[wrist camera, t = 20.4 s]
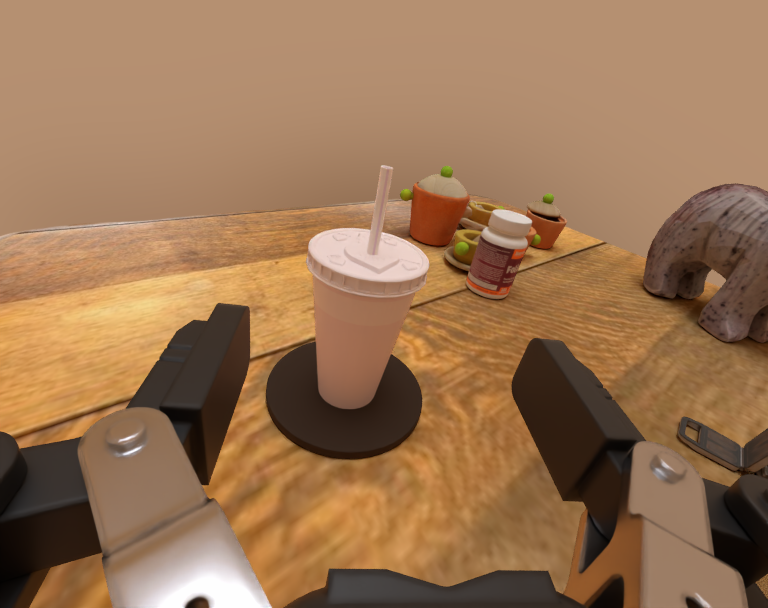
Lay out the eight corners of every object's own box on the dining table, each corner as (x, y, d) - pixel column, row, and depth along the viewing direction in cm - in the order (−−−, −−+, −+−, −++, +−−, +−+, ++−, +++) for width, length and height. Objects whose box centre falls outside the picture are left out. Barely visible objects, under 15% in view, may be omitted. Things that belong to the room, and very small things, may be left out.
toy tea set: (474, 286, 42) (503, 200, 37) (380, 233, 51) (394, 158, 46) (571, 250, 59) (600, 188, 54) (488, 215, 68) (506, 159, 63)
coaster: (294, 484, 19) (295, 477, 19) (249, 359, 26) (249, 352, 26) (450, 429, 24) (453, 422, 24) (377, 336, 31) (378, 330, 31)
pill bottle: (504, 305, 40) (534, 228, 35) (460, 289, 41) (484, 214, 37) (510, 288, 44) (538, 217, 39) (470, 274, 45) (493, 204, 41)
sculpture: (819, 392, 36) (973, 244, 28) (607, 287, 49) (673, 166, 41) (833, 356, 43) (958, 231, 35) (645, 273, 56) (707, 168, 49)
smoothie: (296, 429, 21) (317, 172, 14) (296, 354, 27) (311, 140, 19) (405, 425, 23) (474, 193, 16) (385, 355, 28) (430, 158, 21)
